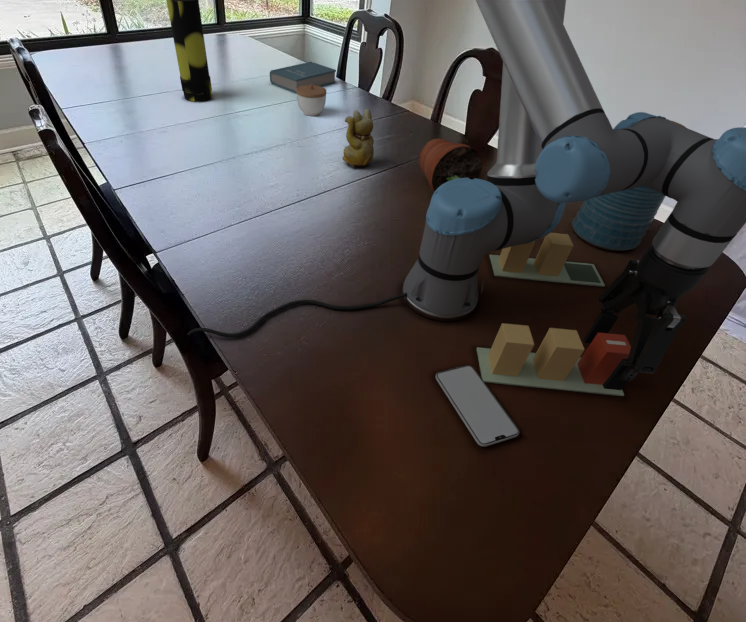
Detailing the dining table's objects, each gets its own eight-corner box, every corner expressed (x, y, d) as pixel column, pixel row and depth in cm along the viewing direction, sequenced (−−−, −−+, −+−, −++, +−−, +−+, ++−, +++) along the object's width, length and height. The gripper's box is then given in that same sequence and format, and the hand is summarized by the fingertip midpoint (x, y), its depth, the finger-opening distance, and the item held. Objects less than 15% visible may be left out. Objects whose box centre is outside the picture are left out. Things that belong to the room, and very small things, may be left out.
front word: (482, 382, 75) (497, 348, 69) (476, 348, 81) (489, 314, 75) (623, 396, 75) (650, 363, 69) (607, 361, 80) (631, 328, 74)
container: (219, 97, 167) (205, -1, 146) (196, 104, 161) (179, 2, 140) (200, 91, 172) (185, -6, 150) (177, 97, 166) (158, -3, 144)
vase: (651, 254, 106) (726, 141, 87) (587, 253, 105) (649, 139, 86) (617, 219, 118) (677, 112, 98) (559, 218, 116) (608, 110, 97)
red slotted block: (584, 383, 76) (607, 351, 70) (576, 363, 79) (598, 331, 73) (610, 385, 76) (635, 354, 70) (602, 366, 79) (625, 334, 73)
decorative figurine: (361, 155, 137) (365, 103, 127) (379, 165, 133) (386, 112, 123) (338, 163, 133) (340, 110, 122) (357, 173, 129) (361, 119, 118)
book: (296, 93, 176) (296, 79, 172) (270, 83, 183) (269, 69, 179) (335, 83, 188) (336, 69, 184) (309, 74, 195) (309, 61, 191)
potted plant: (405, 187, 128) (465, 244, 103) (415, 131, 118) (484, 179, 93) (452, 185, 132) (521, 239, 107) (466, 131, 122) (545, 177, 97)
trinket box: (310, 105, 167) (310, 77, 160) (331, 113, 162) (332, 85, 155) (290, 112, 161) (289, 83, 154) (312, 120, 156) (312, 91, 149)
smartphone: (471, 363, 77) (522, 433, 67) (470, 366, 78) (520, 436, 68) (433, 373, 75) (481, 446, 65) (433, 375, 76) (479, 448, 66)
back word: (494, 276, 97) (507, 244, 91) (489, 255, 102) (500, 223, 96) (604, 286, 96) (624, 254, 90) (592, 265, 102) (610, 233, 96)
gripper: (755, 312, 51) (649, 420, 67) (671, 215, 67) (601, 321, 83) (690, 306, 52) (600, 415, 68) (622, 210, 67) (561, 318, 83)
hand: (601, 363), depth 75 cm, fingers open, 10 cm apart
